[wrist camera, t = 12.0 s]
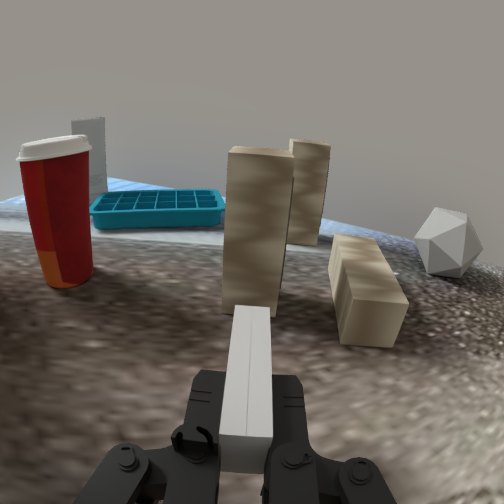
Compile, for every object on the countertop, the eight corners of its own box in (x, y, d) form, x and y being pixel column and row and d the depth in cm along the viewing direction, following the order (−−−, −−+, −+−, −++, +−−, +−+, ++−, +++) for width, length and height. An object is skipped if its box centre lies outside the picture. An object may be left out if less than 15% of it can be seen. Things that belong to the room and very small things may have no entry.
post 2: (282, 243, 40) (293, 141, 35) (280, 230, 45) (290, 138, 39) (319, 246, 40) (333, 146, 35) (313, 233, 45) (325, 142, 39)
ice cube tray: (103, 208, 50) (101, 192, 49) (216, 205, 55) (217, 189, 53) (86, 234, 40) (84, 213, 38) (226, 229, 44) (227, 209, 43)
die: (455, 265, 40) (433, 203, 40) (498, 262, 31) (475, 189, 31) (419, 292, 38) (394, 224, 38) (464, 294, 29) (437, 212, 29)
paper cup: (106, 256, 33) (97, 132, 27) (99, 292, 27) (83, 138, 21) (45, 261, 31) (30, 140, 25) (27, 296, 24) (1, 150, 18)
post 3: (353, 298, 21) (334, 233, 33) (339, 346, 23) (327, 270, 35) (413, 304, 21) (376, 238, 33) (394, 349, 23) (367, 275, 35)
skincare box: (108, 203, 52) (106, 116, 45) (74, 208, 48) (69, 120, 42) (105, 192, 58) (104, 116, 52) (75, 197, 55) (71, 119, 48)
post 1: (221, 313, 26) (228, 152, 20) (226, 285, 30) (233, 146, 25) (279, 317, 26) (299, 158, 20) (277, 289, 30) (293, 150, 25)
